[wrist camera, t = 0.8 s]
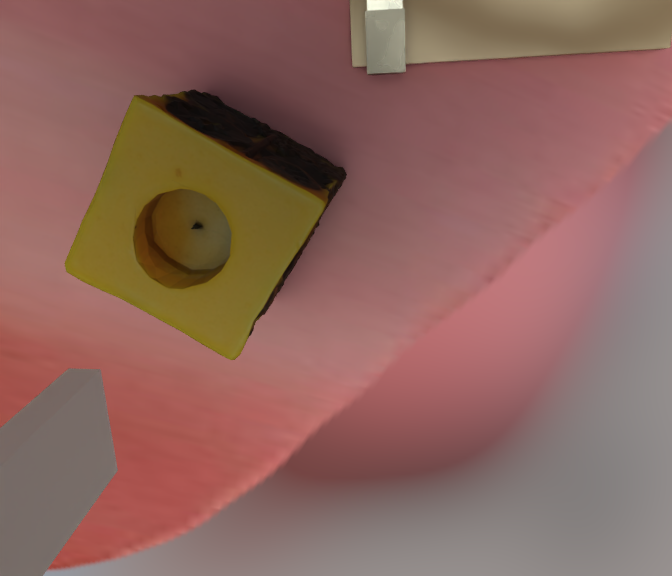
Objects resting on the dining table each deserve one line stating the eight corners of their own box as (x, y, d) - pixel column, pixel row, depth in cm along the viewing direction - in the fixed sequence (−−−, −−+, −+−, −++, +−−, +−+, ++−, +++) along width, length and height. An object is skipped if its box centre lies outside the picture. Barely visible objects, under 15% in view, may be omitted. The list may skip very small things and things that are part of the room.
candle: (350, 170, 35) (336, 200, 26) (275, 301, 39) (239, 369, 29) (203, 85, 34) (134, 83, 25) (140, 226, 38) (58, 272, 28)
